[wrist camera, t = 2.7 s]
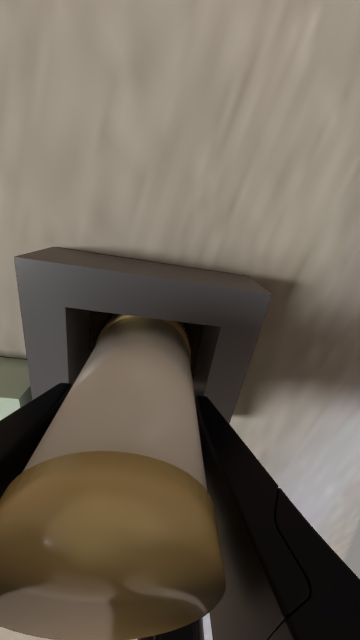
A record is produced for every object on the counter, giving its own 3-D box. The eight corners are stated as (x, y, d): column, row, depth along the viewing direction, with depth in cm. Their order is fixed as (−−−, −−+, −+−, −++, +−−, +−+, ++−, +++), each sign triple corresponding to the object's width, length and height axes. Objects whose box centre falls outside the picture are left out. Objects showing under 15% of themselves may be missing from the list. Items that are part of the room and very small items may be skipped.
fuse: (181, 384, 12) (199, 640, 5) (100, 376, 12) (-18, 643, 4) (196, 311, 10) (258, 530, 3) (102, 298, 10) (-83, 517, 3)
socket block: (209, 415, 13) (218, 457, 11) (62, 402, 12) (38, 444, 10) (248, 276, 10) (272, 294, 8) (53, 246, 9) (13, 257, 7)
